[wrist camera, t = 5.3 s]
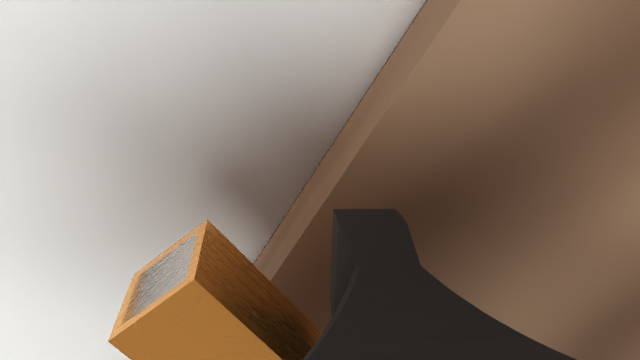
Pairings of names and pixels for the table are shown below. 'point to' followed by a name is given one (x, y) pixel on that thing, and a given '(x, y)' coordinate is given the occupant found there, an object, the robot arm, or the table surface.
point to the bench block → (496, 169)
